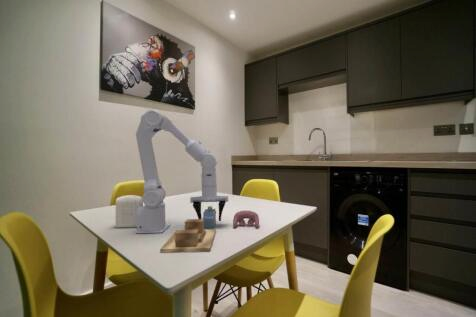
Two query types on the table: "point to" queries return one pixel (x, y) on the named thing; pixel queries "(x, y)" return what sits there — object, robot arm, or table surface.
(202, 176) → the robot arm
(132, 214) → the photo printer
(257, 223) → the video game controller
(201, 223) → the bread on cutting board
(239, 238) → the table surface
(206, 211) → the servo
